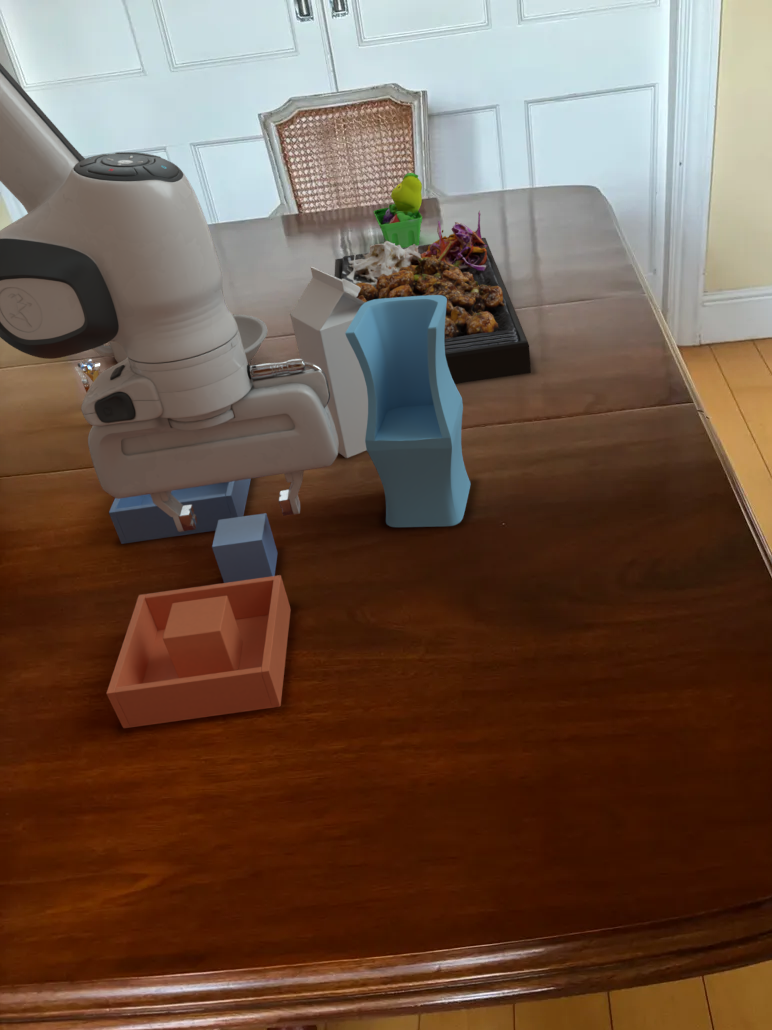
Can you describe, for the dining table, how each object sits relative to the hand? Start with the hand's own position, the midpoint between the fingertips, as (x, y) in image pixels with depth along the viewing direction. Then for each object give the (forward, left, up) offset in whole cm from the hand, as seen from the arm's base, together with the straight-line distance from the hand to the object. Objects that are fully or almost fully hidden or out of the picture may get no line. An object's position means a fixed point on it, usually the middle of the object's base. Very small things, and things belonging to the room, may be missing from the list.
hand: (240, 519), depth 80 cm
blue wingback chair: (+17, +7, -6) cm, 19 cm away
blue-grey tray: (-8, +14, -6) cm, 17 cm away
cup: (-24, +60, -6) cm, 65 cm away
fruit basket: (+18, +99, -6) cm, 101 cm away
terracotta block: (-2, -13, -5) cm, 14 cm away
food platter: (+19, +57, -6) cm, 60 cm away
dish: (-9, +50, -6) cm, 51 cm away
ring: (-23, +40, -6) cm, 47 cm away
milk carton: (+10, +24, -6) cm, 27 cm away
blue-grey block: (0, 0, -6) cm, 6 cm away
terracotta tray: (-2, -13, -6) cm, 15 cm away
